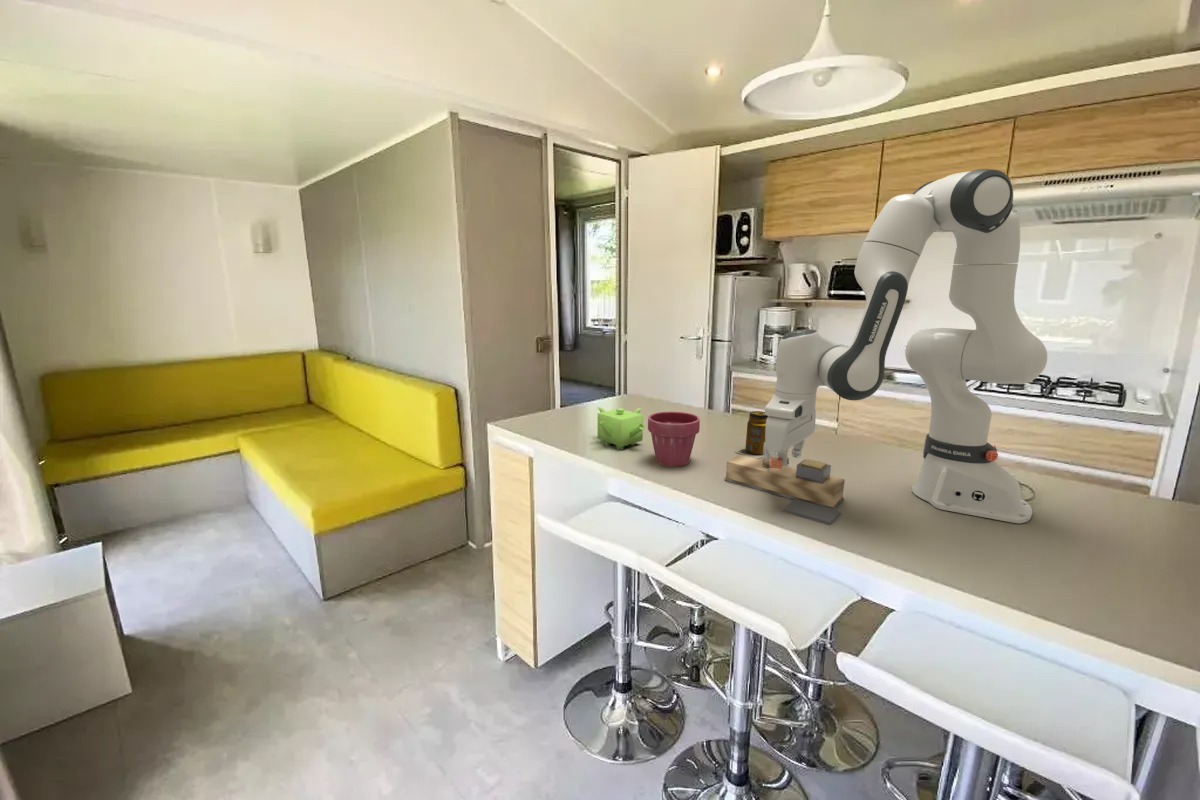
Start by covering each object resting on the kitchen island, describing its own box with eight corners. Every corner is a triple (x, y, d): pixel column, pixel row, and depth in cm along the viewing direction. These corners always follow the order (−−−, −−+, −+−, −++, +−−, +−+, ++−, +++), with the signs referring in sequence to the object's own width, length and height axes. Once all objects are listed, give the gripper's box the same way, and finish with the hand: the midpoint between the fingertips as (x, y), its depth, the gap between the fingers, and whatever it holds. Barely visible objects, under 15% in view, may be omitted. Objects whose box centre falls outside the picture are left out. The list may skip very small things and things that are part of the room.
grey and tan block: (829, 477, 120) (831, 463, 119) (822, 483, 116) (824, 469, 115) (803, 471, 124) (805, 457, 123) (795, 477, 120) (797, 462, 119)
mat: (840, 513, 113) (840, 511, 112) (830, 525, 107) (830, 522, 107) (794, 501, 119) (795, 498, 119) (782, 511, 114) (783, 508, 114)
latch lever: (780, 485, 115) (782, 461, 113) (769, 485, 115) (771, 460, 114) (771, 464, 128) (773, 442, 126) (761, 463, 128) (763, 441, 127)
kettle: (597, 436, 167) (597, 402, 165) (641, 437, 167) (641, 403, 165) (596, 451, 153) (596, 414, 150) (644, 452, 153) (645, 415, 150)
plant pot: (655, 450, 154) (656, 408, 151) (702, 456, 149) (704, 413, 146) (640, 466, 141) (641, 420, 138) (691, 473, 136) (693, 426, 133)
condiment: (772, 452, 152) (775, 413, 150) (757, 459, 147) (760, 418, 144) (750, 446, 158) (753, 408, 155) (735, 453, 152) (737, 413, 149)
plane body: (843, 499, 120) (846, 479, 119) (833, 510, 114) (835, 489, 113) (738, 472, 137) (739, 454, 135) (724, 480, 131) (725, 461, 130)
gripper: (798, 392, 126) (794, 447, 129) (761, 409, 111) (757, 470, 114) (824, 396, 121) (820, 452, 125) (790, 413, 107) (785, 476, 110)
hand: (790, 461), depth 119 cm, fingers open, 6 cm apart
